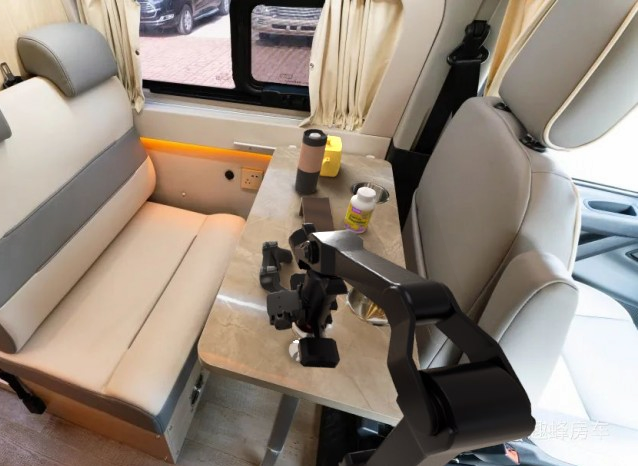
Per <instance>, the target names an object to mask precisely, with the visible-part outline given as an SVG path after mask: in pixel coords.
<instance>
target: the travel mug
mask: <svg viewBox="0 0 638 466" xmlns="http://www.w3.org/2000/svg"><path fill="white" fill-rule="evenodd" d="M328 136H329V134H328V133H325V132H324V131H323V130H322V129H318V128H308V129H306V130H304V131H303V133H302V138H301V145H300V150H299V155H298V161H297V168H296V175H295V183H294V189H295V191H296V192H298V193H300V194H302V195H311V194H314V193H315V192H316V190H317V186H318V184H319V178H320V176H321V175H320V171H321V167H322V162H323V158H324V153H325V148H326V143H327V139H328Z"/></svg>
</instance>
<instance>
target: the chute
mask: <svg viewBox="0 0 638 466" xmlns="http://www.w3.org/2000/svg"><path fill="white" fill-rule="evenodd" d="M330 201H331V200H330V197H329V196H301V199H300V205H299V210H298V216H299V217H303V224H305V223H313V225H314V226H315V229H316V230H317V231H318V232H327V231H336V230H335V229H336V228H335V223H334V218H333V212H332V207H331V202H330Z"/></svg>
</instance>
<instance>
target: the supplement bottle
mask: <svg viewBox="0 0 638 466" xmlns="http://www.w3.org/2000/svg"><path fill="white" fill-rule="evenodd" d="M376 194H377V193H376V191H375V190H374V189H372V188H371V187H367V186H362V187H360V188H358V190H357V192H356V194H354V195H353V196H351V199H350V201H349V205H348V207H347V210H346V214H345V215H344V216H345V217H344V220H343V227H344V230H352V231H353V232H354V233H356V234H362V233H364V232H365V231H366V230H367V228H368V225H369V224H370V220H371V218H372V215H373V213H374V211H375V208H376V204H377V203H376V200H375V197H376Z"/></svg>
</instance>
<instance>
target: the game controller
mask: <svg viewBox="0 0 638 466" xmlns="http://www.w3.org/2000/svg"><path fill="white" fill-rule="evenodd" d="M261 254H262V259H261V260H262V261H261V266H260V267H259V272H258V279H259V284H260V286H261V288H262V289H263V290H264V291H267V292H268V293H269V294H270V293H274V292H279V291H285V290H289V289H288V288H287V287H285V286H283V285H282V284H281V275H280V273H279V272H280V271H282V265H281V264H290V263H292V262H293V259H294V255H293V252H292V250H291V249H287V248H282V247H280V246H279V241H277V240H269V241H262V246H261Z"/></svg>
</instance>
